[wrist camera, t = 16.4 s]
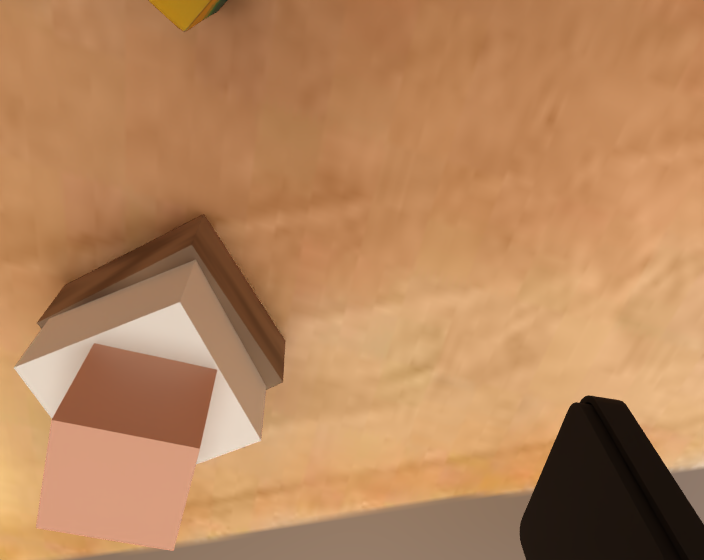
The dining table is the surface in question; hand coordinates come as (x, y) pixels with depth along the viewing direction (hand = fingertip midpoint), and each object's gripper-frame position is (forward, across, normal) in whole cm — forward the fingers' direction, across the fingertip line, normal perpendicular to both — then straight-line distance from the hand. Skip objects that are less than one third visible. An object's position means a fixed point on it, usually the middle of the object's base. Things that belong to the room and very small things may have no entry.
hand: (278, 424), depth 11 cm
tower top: (+24, +6, +16) cm, 30 cm away
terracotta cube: (+19, +6, +16) cm, 25 cm away
